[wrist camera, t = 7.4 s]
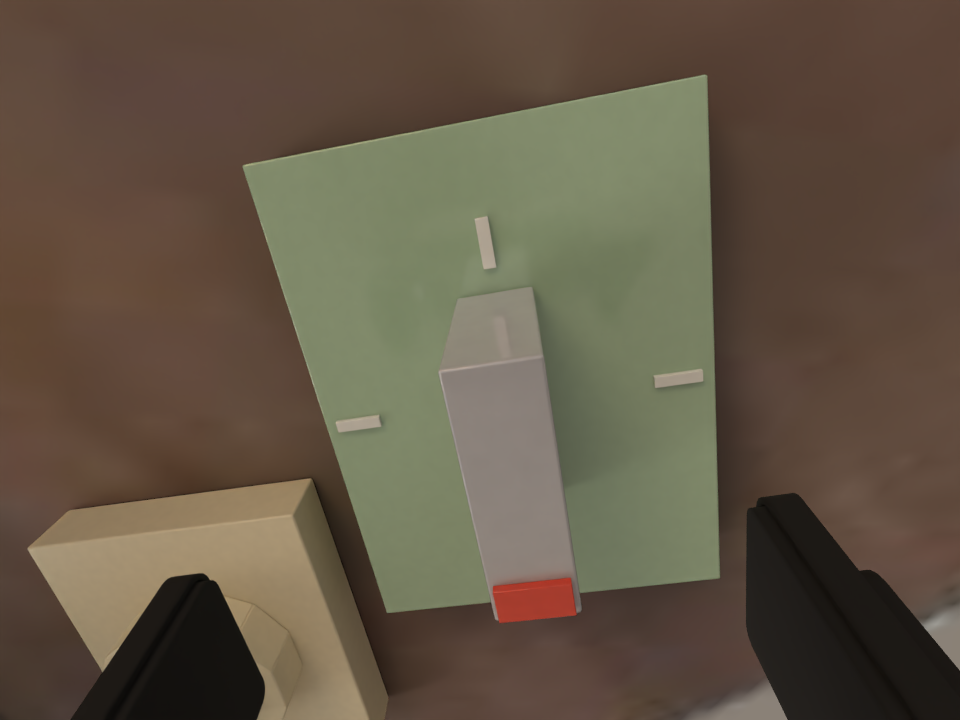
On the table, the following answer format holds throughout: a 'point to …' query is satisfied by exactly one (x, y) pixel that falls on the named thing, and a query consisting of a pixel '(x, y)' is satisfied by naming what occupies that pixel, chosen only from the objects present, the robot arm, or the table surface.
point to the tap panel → (561, 313)
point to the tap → (510, 455)
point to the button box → (227, 587)
